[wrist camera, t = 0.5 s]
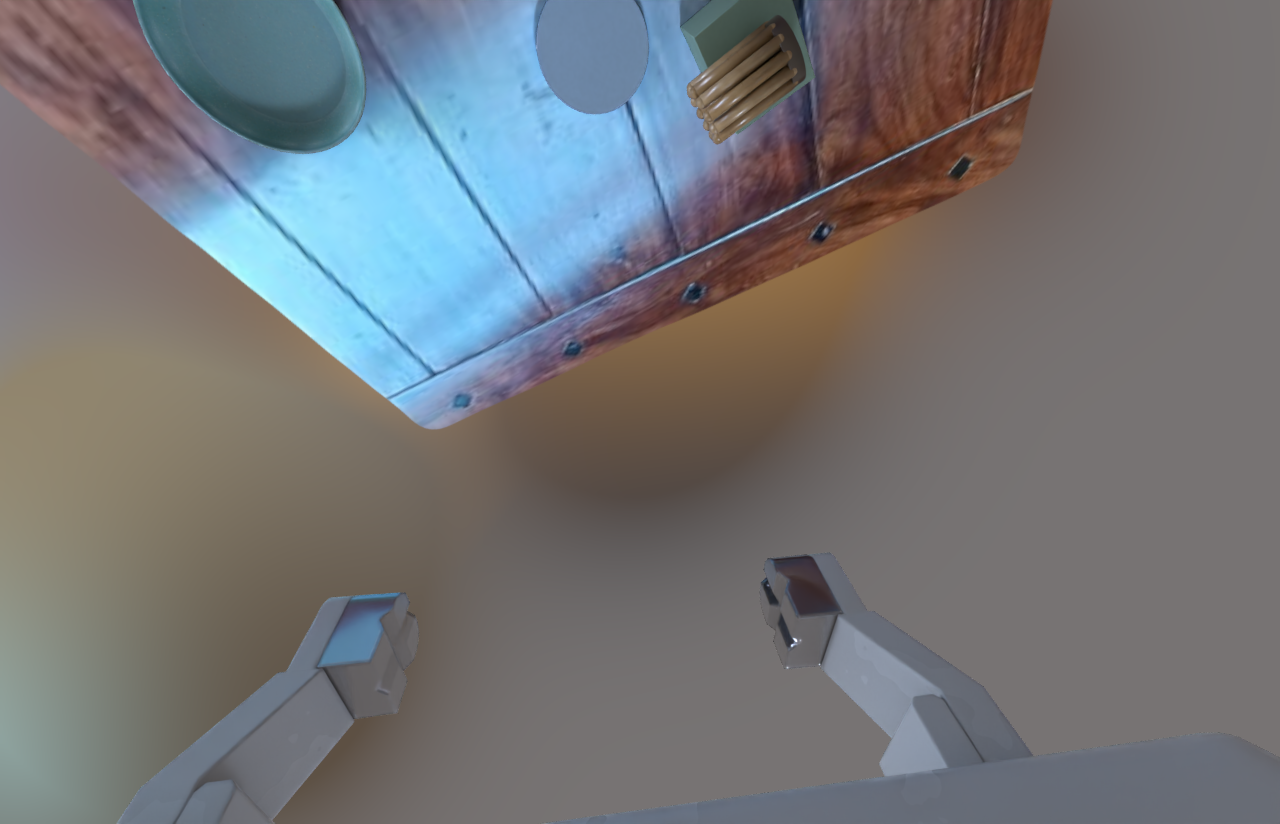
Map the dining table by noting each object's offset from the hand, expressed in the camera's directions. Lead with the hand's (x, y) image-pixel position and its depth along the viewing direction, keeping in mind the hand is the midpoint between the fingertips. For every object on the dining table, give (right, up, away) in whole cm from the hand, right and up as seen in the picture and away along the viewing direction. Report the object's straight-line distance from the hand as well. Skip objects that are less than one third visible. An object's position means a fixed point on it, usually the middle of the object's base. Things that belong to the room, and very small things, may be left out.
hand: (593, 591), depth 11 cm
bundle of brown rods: (+9, +34, +31) cm, 47 cm away
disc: (-3, +37, +32) cm, 49 cm away
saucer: (-29, +34, +28) cm, 53 cm away
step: (+10, +38, +34) cm, 52 cm away
